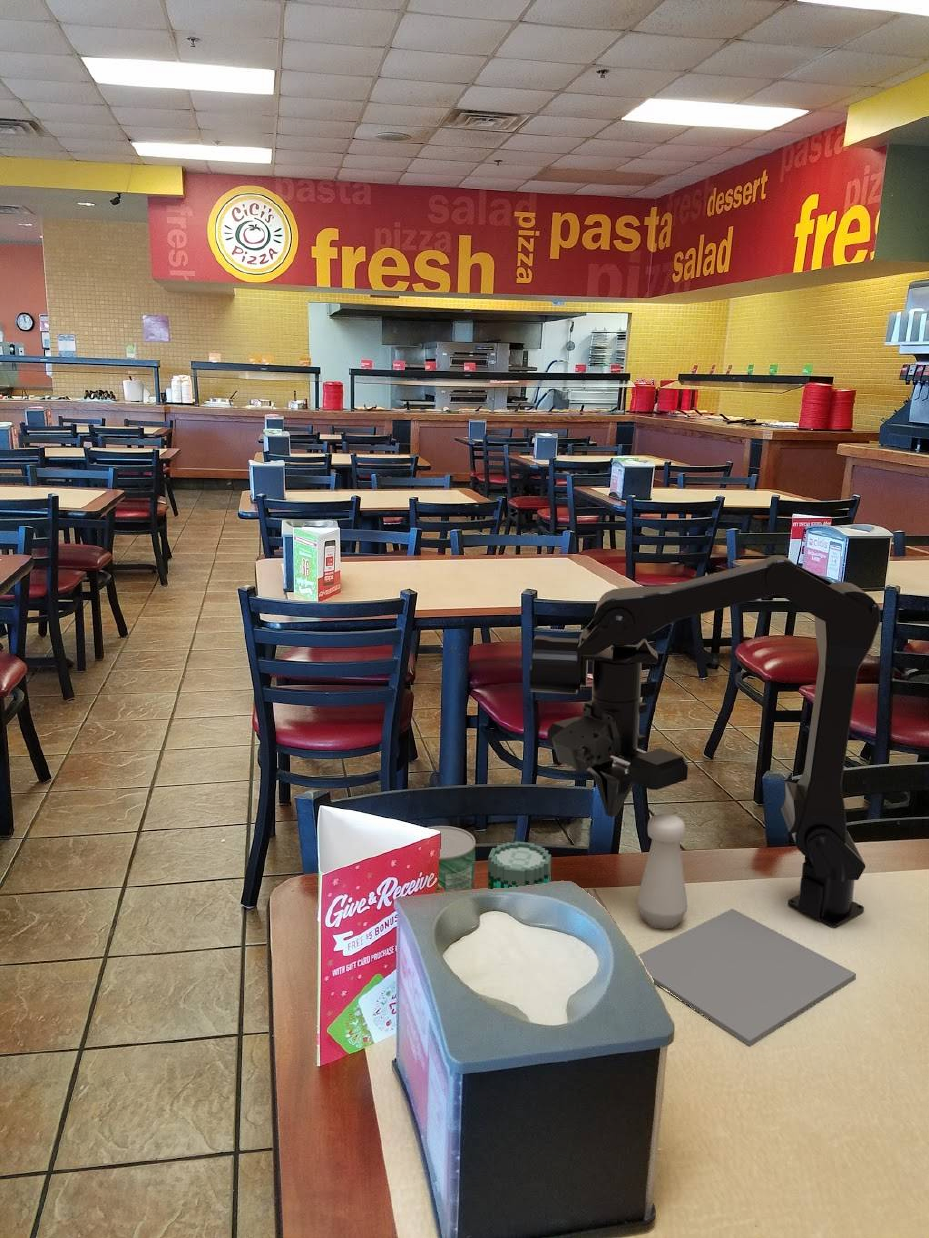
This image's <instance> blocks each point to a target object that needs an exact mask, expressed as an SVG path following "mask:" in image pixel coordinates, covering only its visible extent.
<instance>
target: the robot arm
mask: <svg viewBox="0 0 929 1238" xmlns="http://www.w3.org/2000/svg"><path fill="white" fill-rule="evenodd" d="M772 596H780V597H782V598H784V599H786V600H788V601H789V602H791V603H793V604H794V605H795V606H798V607H799V608H800V609H802V610H804V611H806V612H807V613H809V614H811V615H812V616H813V617H814V630H815V631H814V632H815V638H816V639H815V640H816V644H817V651H818V668H817V675H816V681H815V683H816V684H815V690H814V697H813V705H812V713H811V719H810V720H811V721H810V724H809V725H810V727H809V734H808V741H807V746H806V747H807V748H806V756H805V764H804V769H803V773H802V775H801V776H800V777H799V780H798V781H797V783H796V782H795V783H794V782H792V781H788V780H787V781H785V787H784V788H785V789H784V790H785V799H784V803H783V804H782V806H781V808H780V811H781V813H782V817H783V819H784V821H785V825H786V827H787V829H788V832H789V834H791V836H792V838H793V841H794V843H795V846H796V848H797V850H798V851H799V852H800V853H801V854H802V855H803V856H804V860H803V863H802V871H801V878H800V885H799V894H797V895H795V896H793V897H792V898H789V899H788V900H787V905H788V906H789V907H791V908H792V909H793V908H794V910H797V911H799V912H801V913H803V914H805V915H808V916H810V917H812V918H813V919H815V920H818V921H820V922H822V923H824V924H825V925H827V926H830V927H832V928H837V927H838V926H840V925H842V924H844V923H846V922H847V921H849V920H851V919H853V918H855V917H857V916H859V915H860V914H862V913H863V912H864V911H865V907H864V906H863V904H862V905H861V904H860V903H857V902H855V901H853V899H854V898H853V897H854V888H855V881H859V879H860V878H861V876H862V874H863V872H864V871H865V869H866V864H865V862H864V859H863V857H862V856H861V854H860V852H859V849H858V848H857V846H856V844H855V842H854V840H853V838H852V836H851V834H850V833H849V831H848V830H847V814H846V806H845V801H844V800H845V799H844V793H843V787H842V786H843V785H842V784H843V777H844V772H845V770H844V769H845V764H846V757H847V749H848V743H849V735H850V730H851V729H850V728H851V724H852V716H853V710H854V709H853V708H854V702H855V695H856V688H857V683H858V682H857V681H858V675H859V670H860V668H861V666H862V664H863V662H864V661H865V659H866V657H867V655H868V654H869V652H870V650H871V649H872V646H873V642H874V640H875V638H876V635H877V633H878V629H879V627H880V622H881V609H880V606H879V605H878V604H877V602H876V600H874V599H873V597H872V596H870V595H869V594H868V593H866V592H865V591H864V590H863V589H861V588H860V587H858V586H857V585H856V584H853V583H851V582H846V581H835V582H833V583H832V582H831V581H829V580H827V579H826V578H824V577H821V576H820V575H818V574H815V573H814V572H812V571H809V570H808V569H806V568H804V567H802V566H800V565H797V564H795V563H794V562H793V561H792V560H790V559H789V558H788V557H786V556H784V555H780V554H775V555H770V556H769V557H767V558H764V559H762V560H759V561H756V562H753V563H748V564H744V565H742V566H741V565H740V566H737V567H734V568H730V569H726V570H722V571H718V572H715V573H711V574H707V575H704V576H701V577H700V576H699V577H696V578H692V579H689V580H685V581H681V582H677V583H672V584H670V585H660V586H658V585H657V586H648V585H647V586H642V585H641V586H631V587H622V588H621V587H620V588H619V587H618V588H613V589H611V590H608V591H606V592H605V593H603V594H602V595H601V597H600V598H599V599H598V602H597V603H596V607H595V611H594V616H593V617H594V618H592V620H591V622H589V624H588V625H587V626H586V627H585V628H583V629H582V632H581V633H580V635H579V638H570V637H569V638H567V637H566V638H565V637H551V636H547V635H536V636H534V639H533V650H532V654H531V655H532V656H531V657H532V658H531V664H530V666H529V667H530V668H529V691H530V693H531V692H532V693H547V694H548V693H550V694H566V695H569V694H571V695H578V691H581V687H587V686H588V672H589V671H588V668H589V666H588V664H589V661H591V662H592V686H591V688H592V689H591V700H590V701H585V702H584V706H582V715H581V717H580V716H575V717H571V718H567V719H563V720H559V721H555V722H552V723H551V725H550V727H549V728H548V729H547V731H546V735H547V736H546V739H547V740H546V741H547V742H546V746H549V747H552V748H554V751H555V755H556V758H557V762H558V763H560V764H562V765H564V764H565V765H567V766H569V767H571V768H573V770H575V771H579V772H580V771H581V772H583V771H586V770H587V771H589V772H590V773H591V774H592V777H593V779H594V782H595V784H596V786H597V790H598V793H599V796H600V799H601V803H602V806H603V809H604V812H605V815H606V816H607V817H609V818H614V817H617V816H618V813H619V812H620V810H621V808H622V807H623V805H624V803H625V801H626V799H627V798H628V796H629V794H630V792H631V790H632V789H633V787H634V786H635V784H637V785H639V786H640V787H644V788H646V789H648V790H653V791H654V790H655V791H658V790H661V789H663V788H667V787H670V786H672V785H675V784H678V783H681V782H684V781H687V780H688V769H689V765H688V763H689V762H688V761H687V760H686V758H685V757H684V756H683V755H680V754H677V753H674V752H672V751H670V750H667V749H664V748H663V747H662V748H661V747H660V748H657V749H654V750H651V751H645V750H643V749H641V748H638V747H640V746H643V745H645V744H646V739H647V738H646V735H643V734H640V731H639V729H640V714H645V713H647V712H648V710H647V709H648V704H647V703H645V702H642V701H641V689H642V688H641V686H642V664H657V663H658V662H659V659H658V657H659V656H658V651H657V650H656V649H654V648H653V647H652V646H651V645H650V644H649V642H648V641H647V638H646V637H649V636H651V635H653V634H654V633H656V632H658V631H660V630H661V629H663V628H665V627H666V626H668V625H670V624H673V623H674V622H677V621H679V620H684V619H688V618H692V617H696V616H699V615H703V614H706V613H711V612H716V611H719V610H721V609H723V610H724V609H725V608H730V607H733V606H738V605H743V604H746V603H749V602H754V601H757V600H760V599H765V598H769V597H772ZM637 641H640V642H638V643H637V644H633V643H635V642H637ZM611 646H612V649H608V648H610V647H611Z"/></svg>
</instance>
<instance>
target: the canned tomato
mask: <svg viewBox="0 0 929 1238" xmlns="http://www.w3.org/2000/svg"><path fill="white" fill-rule="evenodd" d="M426 828H429V829H436V830H439V831H440V833H441V849H440V857H439V877H438V886H437V889H436V892H448V891H457V890H467V889H475V890H476V843H477V842H476V839H475V837H474V835H473V834H472V833H470V832H469V831H467V830H465V829H463V828H458V827H455V826H448V825H435V826H427V827H426Z"/></svg>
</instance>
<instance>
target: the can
mask: <svg viewBox="0 0 929 1238" xmlns="http://www.w3.org/2000/svg"><path fill="white" fill-rule="evenodd" d="M487 860H488V861H487V890H488V889H493V888H509V887H518V886H526V885H534V884H542V883H548V882H550V883H552V882H551V881H552V880H551V875H552V874H551V873H552V854H549V850H548V849H546V848H545V847H543V846H542V845H535V843H533V842H526V841H525V842H523V841H517V840H516V841H514V842H508V841H506V843H502V844H497V846H496V847H492V848H491V850H490V853H489V855H488V858H487Z"/></svg>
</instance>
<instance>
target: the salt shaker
mask: <svg viewBox="0 0 929 1238" xmlns="http://www.w3.org/2000/svg"><path fill="white" fill-rule="evenodd" d="M647 835H648V836H647V837H649V838H650V839H651V843H650V849H649V852H648V856H647V861H646V864H645V868H644V872H643V875H642V879H641V883H640V887H639V891H638V893H637V906H638V908H639V911H640V914H641V916H642V919H643V921H644V922H646V923H647V924H648V925H650V926H651V927H652V928H654V927H656V928H655V929H662V928H668V929H667V930H671V929H672V927H673V928H674V927H676V926H677V924H678V925H679V924H680V923H681V921H682V920H683V918H684V916H685V914H686V913H687V910H688V900H687V899H688V898H687V893H686V885H685V883H686V882H685V877H684V868H683V860H682V852H681V845H680V843H681V842H682V841H683V840H684V839H685V837H686V825H685V822H684V821H683V820H682V818H681V817H679V816H677V815H675V814H672V813H658V814H655V815H653V816H651V817H650V818H649V819H648V823H647ZM670 928H671V929H670Z"/></svg>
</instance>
